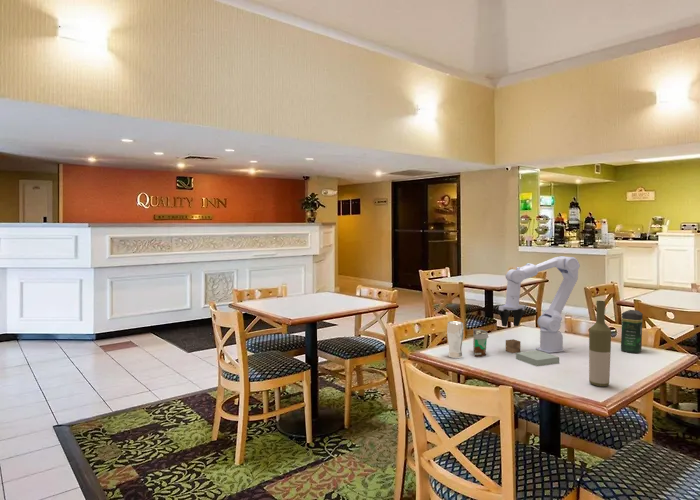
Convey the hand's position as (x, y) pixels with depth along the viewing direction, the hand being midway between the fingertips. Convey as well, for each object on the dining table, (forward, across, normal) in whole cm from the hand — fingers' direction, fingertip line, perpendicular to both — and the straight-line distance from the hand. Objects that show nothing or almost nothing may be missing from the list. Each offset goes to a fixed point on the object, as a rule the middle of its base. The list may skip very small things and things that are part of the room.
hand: (510, 326), depth 214 cm
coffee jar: (+8, -49, +28) cm, 57 cm away
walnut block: (+12, -3, +1) cm, 12 cm away
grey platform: (+12, +1, +16) cm, 20 cm away
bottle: (+11, +7, +48) cm, 50 cm away
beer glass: (+14, +26, -6) cm, 30 cm away
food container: (+13, +13, -4) cm, 19 cm away
